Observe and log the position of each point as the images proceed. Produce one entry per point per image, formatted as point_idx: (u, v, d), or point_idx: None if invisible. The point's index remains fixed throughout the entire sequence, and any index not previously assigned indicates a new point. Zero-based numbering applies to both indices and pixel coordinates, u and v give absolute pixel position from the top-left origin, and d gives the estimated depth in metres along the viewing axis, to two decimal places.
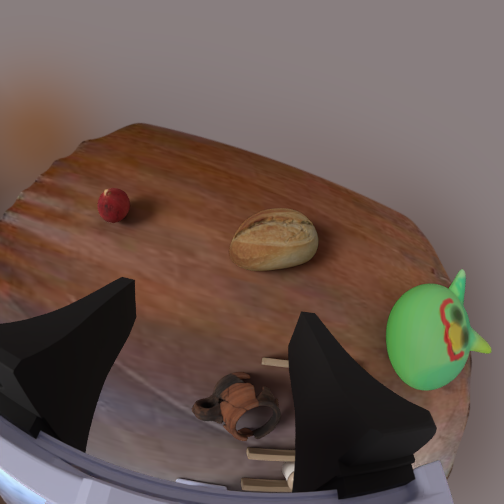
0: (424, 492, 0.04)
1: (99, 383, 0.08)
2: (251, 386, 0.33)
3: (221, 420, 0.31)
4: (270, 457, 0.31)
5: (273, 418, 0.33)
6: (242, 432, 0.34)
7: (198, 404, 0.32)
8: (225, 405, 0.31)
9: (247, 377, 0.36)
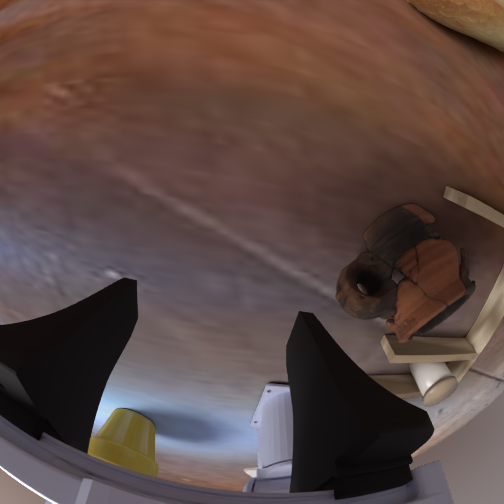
0: (425, 492, 0.04)
1: (102, 384, 0.08)
2: (454, 250, 0.14)
3: (390, 316, 0.16)
4: (417, 358, 0.21)
5: (453, 303, 0.17)
6: (394, 316, 0.21)
7: (354, 283, 0.16)
8: (409, 290, 0.15)
9: (431, 221, 0.17)
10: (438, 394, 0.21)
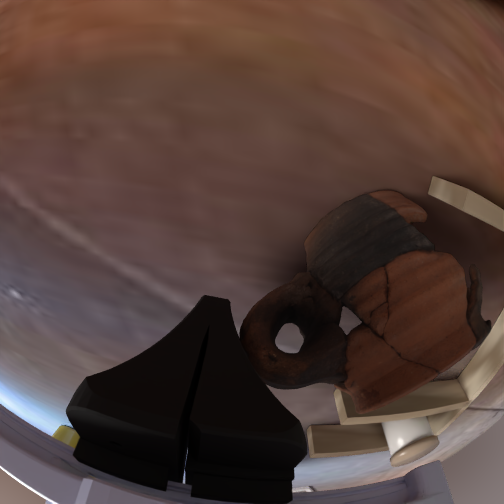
0: (425, 492, 0.04)
1: None
2: (460, 272, 0.08)
3: (337, 381, 0.10)
4: (382, 418, 0.15)
5: None
6: None
7: (264, 332, 0.09)
8: (369, 348, 0.08)
9: (420, 219, 0.10)
10: (411, 456, 0.14)
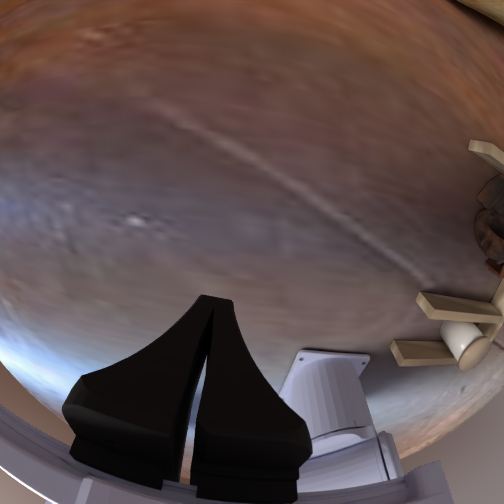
0: (424, 492, 0.04)
1: (190, 408, 0.08)
2: None
3: None
4: (453, 315, 0.20)
5: None
6: (494, 268, 0.19)
7: (492, 231, 0.15)
8: None
9: None
10: (473, 356, 0.19)
